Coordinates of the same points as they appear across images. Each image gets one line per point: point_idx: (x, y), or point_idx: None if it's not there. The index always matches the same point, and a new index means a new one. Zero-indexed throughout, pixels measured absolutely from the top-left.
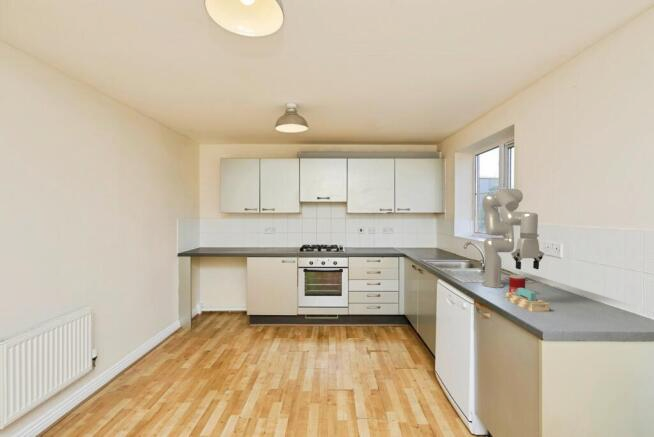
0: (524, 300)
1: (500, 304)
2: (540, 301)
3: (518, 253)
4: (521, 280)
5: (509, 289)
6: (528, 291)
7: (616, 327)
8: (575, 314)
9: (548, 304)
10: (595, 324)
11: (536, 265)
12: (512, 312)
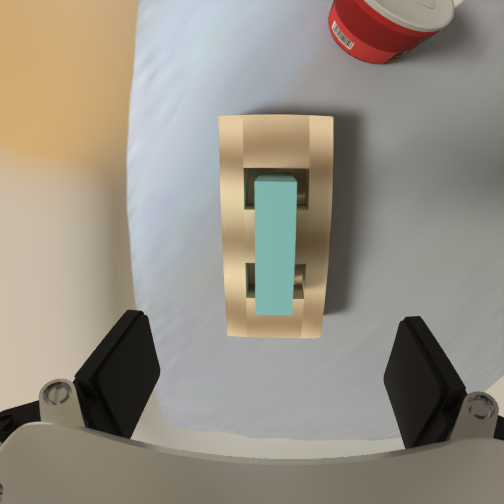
0: (227, 284)
1: (150, 203)
2: (305, 305)
3: (43, 501)
4: (402, 33)
5: (332, 5)
6: (266, 281)
7: (385, 424)
8: (391, 345)
9: (315, 335)
10: (355, 413)
11: (398, 400)
12: (148, 310)
